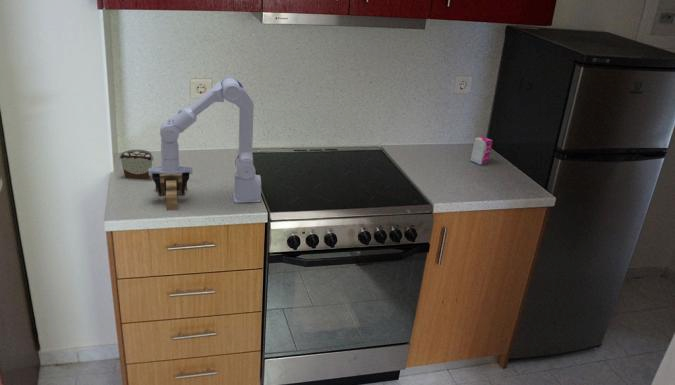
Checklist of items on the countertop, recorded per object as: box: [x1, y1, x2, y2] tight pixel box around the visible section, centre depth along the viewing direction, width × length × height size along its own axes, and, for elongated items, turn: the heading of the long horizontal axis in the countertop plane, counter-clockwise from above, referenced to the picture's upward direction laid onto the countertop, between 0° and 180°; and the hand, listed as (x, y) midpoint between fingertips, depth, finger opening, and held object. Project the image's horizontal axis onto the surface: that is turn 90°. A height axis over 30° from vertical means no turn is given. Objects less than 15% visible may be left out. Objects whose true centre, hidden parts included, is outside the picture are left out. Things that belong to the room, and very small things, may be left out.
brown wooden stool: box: [155, 174, 188, 197], centre depth 216 cm, size 11×5×6 cm, turn 105°
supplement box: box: [469, 136, 494, 166], centre depth 268 cm, size 6×6×12 cm
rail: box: [165, 180, 178, 211], centre depth 210 cm, size 14×4×5 cm, turn 15°
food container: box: [118, 149, 155, 182], centre depth 225 cm, size 12×6×10 cm, turn 92°
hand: (171, 192), depth 210 cm, fingers open, 7 cm apart
